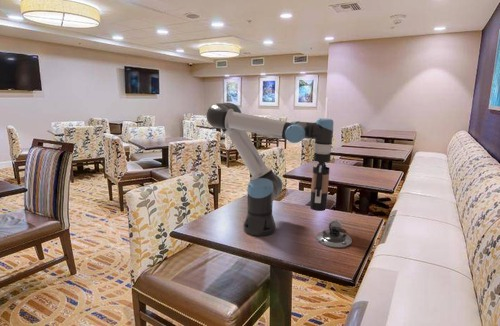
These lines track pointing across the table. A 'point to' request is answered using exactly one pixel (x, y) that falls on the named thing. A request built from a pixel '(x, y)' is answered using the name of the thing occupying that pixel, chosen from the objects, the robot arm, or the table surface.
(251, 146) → the robot arm
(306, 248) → the table surface
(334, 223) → the fitting
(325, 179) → the travel mug
